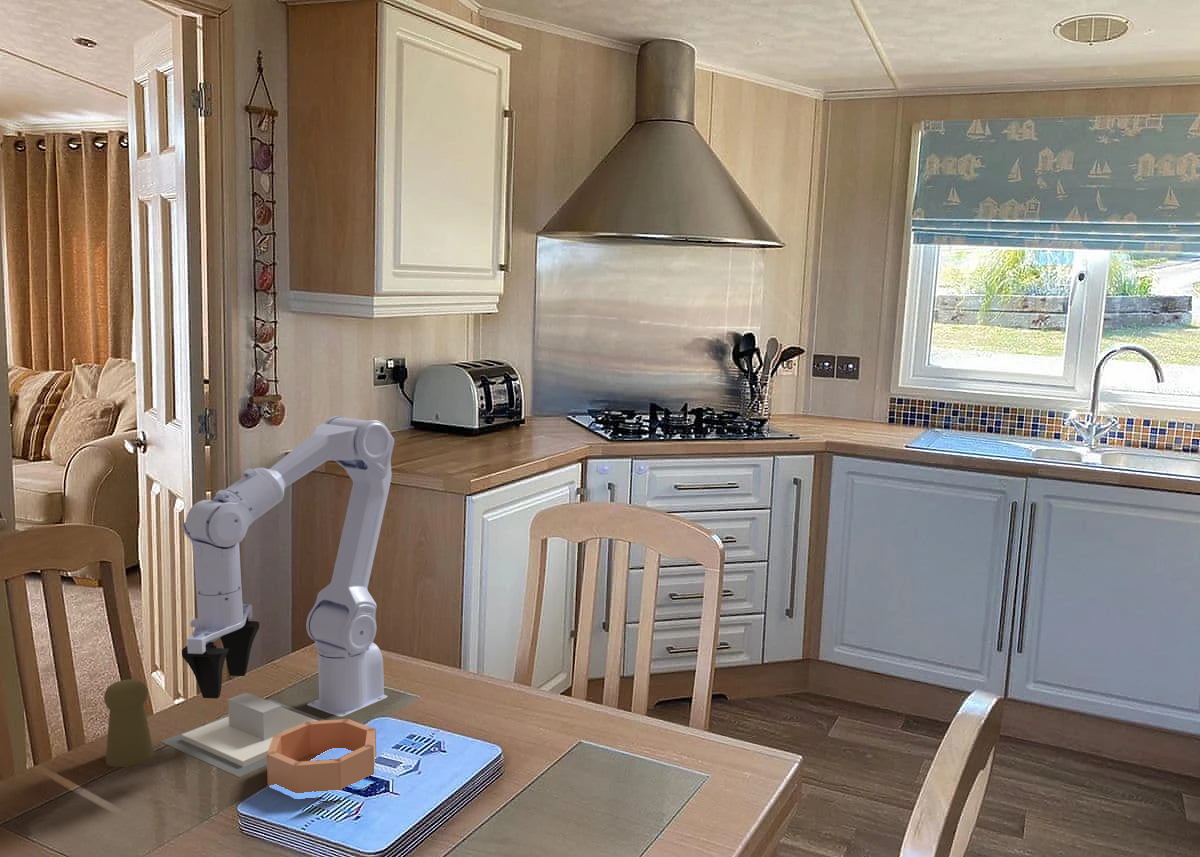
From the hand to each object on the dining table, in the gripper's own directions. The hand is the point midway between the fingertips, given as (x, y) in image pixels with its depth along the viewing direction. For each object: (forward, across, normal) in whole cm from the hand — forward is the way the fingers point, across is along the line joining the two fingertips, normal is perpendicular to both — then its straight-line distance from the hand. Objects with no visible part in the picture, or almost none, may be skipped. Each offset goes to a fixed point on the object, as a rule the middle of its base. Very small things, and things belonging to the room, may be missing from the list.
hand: (224, 685), depth 136 cm
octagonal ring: (+10, +6, +16) cm, 19 cm away
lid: (+9, -4, +2) cm, 10 cm away
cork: (+10, +4, -12) cm, 16 cm away
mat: (+10, -4, +2) cm, 11 cm away
